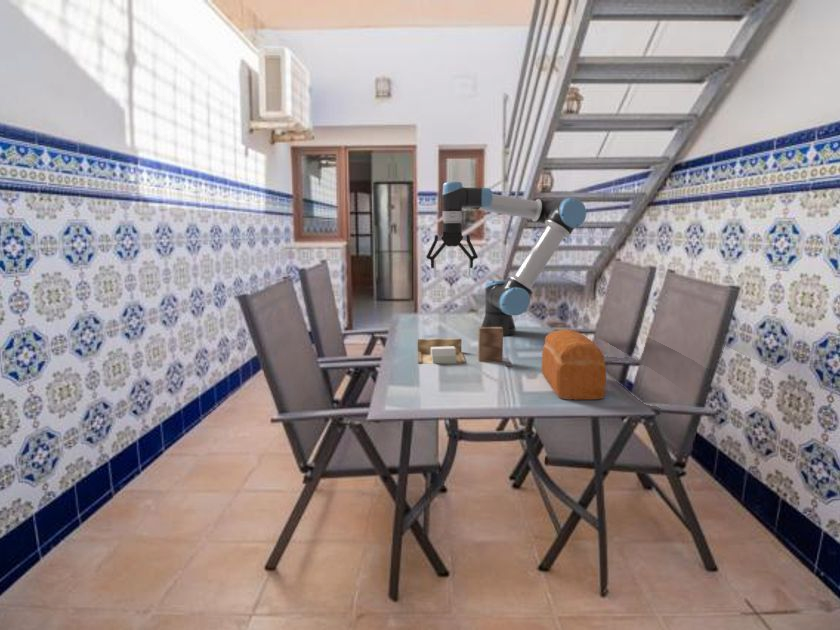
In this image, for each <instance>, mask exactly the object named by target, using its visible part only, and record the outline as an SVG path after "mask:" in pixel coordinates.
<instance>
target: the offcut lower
mask: <svg viewBox="0 0 840 630" xmlns="http://www.w3.org/2000/svg"><path fill="white" fill-rule="evenodd" d="M456 359H457V356H456V353H455V356H433V363H449V364H457V363H456Z"/></svg>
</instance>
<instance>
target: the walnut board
mask: <svg viewBox="0 0 840 630" xmlns="http://www.w3.org/2000/svg"><path fill="white" fill-rule="evenodd" d="M477 341H478V343H477V344H478V346H477V347H478V349H477V353H478V354H477V359H478V362H503V361H502V358H504V357H503V355H504V354H503V352H504V350H503V348H504V336H503V328H502V327H481V326H478V340H477Z"/></svg>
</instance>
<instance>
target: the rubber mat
mask: <svg viewBox="0 0 840 630" xmlns="http://www.w3.org/2000/svg"><path fill="white" fill-rule="evenodd" d="M501 362H502V363H503V365H504V366H505V367H514V365H513V364H512V362H511V361H510V359H509V358H508V357H503V358H502V361H501Z"/></svg>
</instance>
